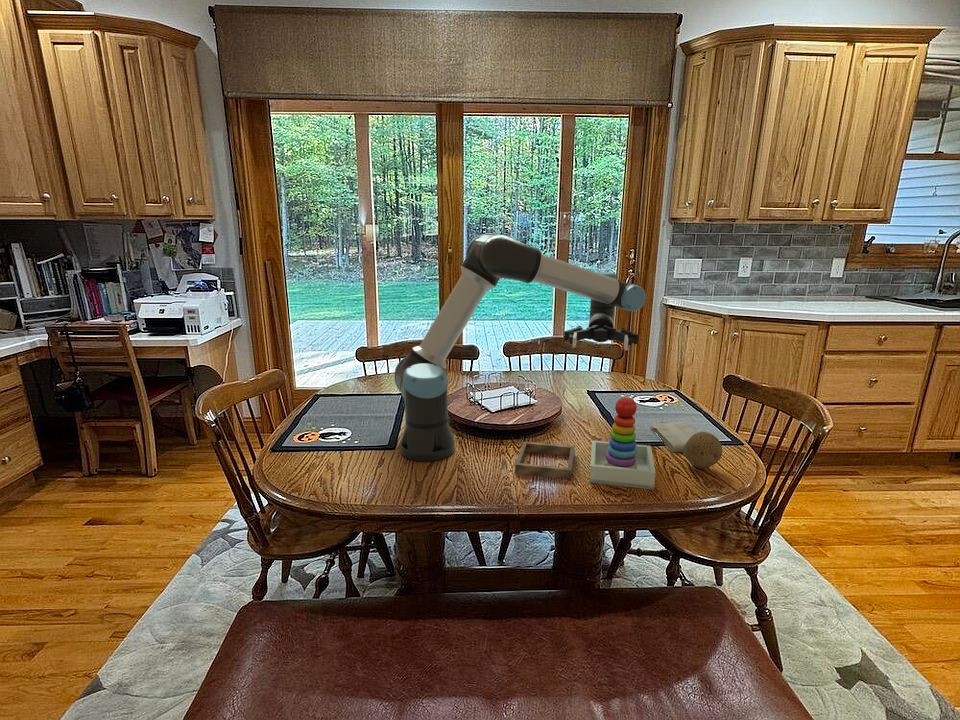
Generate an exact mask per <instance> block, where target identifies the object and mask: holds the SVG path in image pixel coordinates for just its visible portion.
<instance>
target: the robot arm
mask: <svg viewBox="0 0 960 720" xmlns="http://www.w3.org/2000/svg"><path fill="white" fill-rule="evenodd" d="M459 268H460V271H461V275H460V277H459V279H458V281H457V282H456V284H455V285H454V287H453V289H452V290H451V292H450V294H449V296H448V297H447V298H446V301H445V302H444V304H443V305H442V307H441V308H440V310H439V312H438V314H437V316H436V317H435V319H434V320H433V322H432V324H431V326H430V327H429V329H428V331H427V333H426V334H425V335H424V338H423V339H422V340H421V343H420V344H419V345H415V346H412V348H411V349H410V351H409V352H408V354H407V356H405V357H403V358H401V360H400V361H398V363H397V364H396V367H395V369H394V382H395V386H396V388H397V390H398V391H399V392H400V394H401V396H402V398H403V401H404V417H405V418H404V420H405V427H404V428H403V429H404V430H403V433H402V436H401V441H400V443H399V444H400V446H399V447H400V448H399V449H400V454H401V456H403V457H404V458H405V457H406V459H407V458H408V460H410V459H411V460H410V461H415V462H421V463H422V462H436V461H441V460H442V459H443V460H444V459H446V458H448V457H450V456H452V455H453V454H454V452H455V450H456V445H455V444H456V442H455V441H456V440H455V438H454V436H453V432H452V429H451V427H450V424H449V407H448V406H449V405H448V400H449V399H448V386H449V383H448V381H449V380H448V377H447V372H446V369H447V363H446V359H447V358H448V356H449V354H450V352H451V351H452V349H453V347H454V346H455V344H456V342H457V340H458V339H459V337H460V336H461V334H462V332H463V331H464V329H465V327H466V326H467V324H468V323H469V321H470V319H471V317H472V316H473V314H474V313H475V311H476V309H477V307H478V306H479V304H480V302H481V300H483V298H484V296H485V294H486V293H487V292H488V291H490V290H492V289H495V288H496V286H497V284H498V283H499V281H500V279H505V280H510V281H511V280H512V281H518V282H522V283H526V284H531V283H533V282H535V283H538V284H541V285H544V286H547V287H550V288H551V287H552V288H554V289H558V290H560V291H564V292H568V293H571V294H574V295H578V296H580V297H584V298H586V299H589V300H590V307H589V320H588V321H589V322H588V326H587V327H586V328H584V327H583V326H581V325H578V326H577V327H574V328H571V329H568V330H565V331H563V341H568V342H569V344H571V346H572V347H571V348H572V349H573V348H576V347H577V346H576V345H577V341H581V340H589V341H590V340H592V341H594V342H595V343H596V342H597V343H605V342H607V341H616V342H619V343H623V346H624V350H625V351H628V350H629V346H632V345H638V344H639V334H637V333H635V332H632V331H630V330H627V329H626V328H624V327H621V328H619V329H618V330H616V329H617V328H614V327H615V325H614V319H615V308H618V309H621V310H624V311H627V312H628V311H629V312H636V311H637V312H638V311H639V310H640V309H641V308H643V306H644V304H645V303H646V301H647V300H646V297H647V295H646V291H645V290H644V287H641V286H640V285H636V284H635V283H630V282H626V281H622V280H619V279H617V274H616V273H615V272H611V271H597V272H596V271H594V270H593V271H592V270H589V269H588V268H584V267H581V266H578V265H575V264H572V263H569V262H566V261H563V260H560V259H557V258H554V257H551V256H548V255H546V254H543V252H542V251H541V250H540V249H539V248H536V247H534V246H531V245H529V244H526V243H524V242H522V241H519V240H518V239H516V238H513V237H511V236H509V235H505V234H496V233H482V234H480V235H477V236H475V237H474V238H473V239H472V240H471V241H470V242H469V244H468V246H467V249H466V252H465V258H464V260H463V262H462V263H461V265H460V267H459Z"/></svg>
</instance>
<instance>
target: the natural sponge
mask: <svg viewBox="0 0 960 720" xmlns="http://www.w3.org/2000/svg"><path fill="white" fill-rule="evenodd" d="M697 432H698V431H697ZM722 446H723V445H722V443H721V441H720V440H719V439H718V438H717V436H716V435H714V434H713V433H710V432H707V431H699V432H698V433H696V434H694V435H693V436H691V437H690V439H689V440H688V441H687V443H686V444H685V446H684V452H683V455H684V457H685V458H686V459H687V460H688V461H689V462H690V463H691V464H692V465H693V466H694V467H696V468H697V469H699V470H706V469H708V468H710V467H712V466H714V465H716V464H717V463H718V462H719V461H720V460H721V459H722V456H723V447H722Z"/></svg>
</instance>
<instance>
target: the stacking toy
mask: <svg viewBox="0 0 960 720" xmlns="http://www.w3.org/2000/svg"><path fill="white" fill-rule="evenodd" d="M614 409H615V412H616V413H617V414H616V415H615V416H614V420H613V421H614V422H613V424H612V426H611V429H612V430H611V433H610V436H611V437H610V438H609V441H608V442H609V443H610V445H609V446H608V452H607V453H606V460H605V462H604V464H605V466H614V467H624V468H634V469H637V463H636V456H635V455H636V452H637V450H636V448H635V447H636V445H637V441H636V439H637V435H636V433H635V431H636V427H635V423H636V418H635V417H634V415H635V414H636V412H637V409H638V408H637V404H636V402H635V401H634V399H633V398H631V397H624V396H623V397H621V398H619V399H617V401H616V402H615V407H614Z"/></svg>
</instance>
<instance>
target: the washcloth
mask: <svg viewBox="0 0 960 720" xmlns="http://www.w3.org/2000/svg"><path fill="white" fill-rule="evenodd" d="M649 426H650V429H651V430H652V429H653V431H654V432H656V433H657V434H658V436H659V437H660V438H661V440H662V441H663V442H664V443H663V442H662V441H661V440H660V441H661V442H662V443H663V444H664V445H665V447H667V448H668V450H669V451H670V452H672V453H684V446H685V444H686V443H687V441H688V440H689V439H690V437H691V436H693V435H694V434H696V433H698V431H697V430H696V429H695V428H694V427H692V425H691V424H689V422H687V421H677V422H676V421H675V422H669V421H658V422H655V421H654V422H652V423H651V425H649ZM653 431H652V432H653ZM654 432H653V433H654Z"/></svg>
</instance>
